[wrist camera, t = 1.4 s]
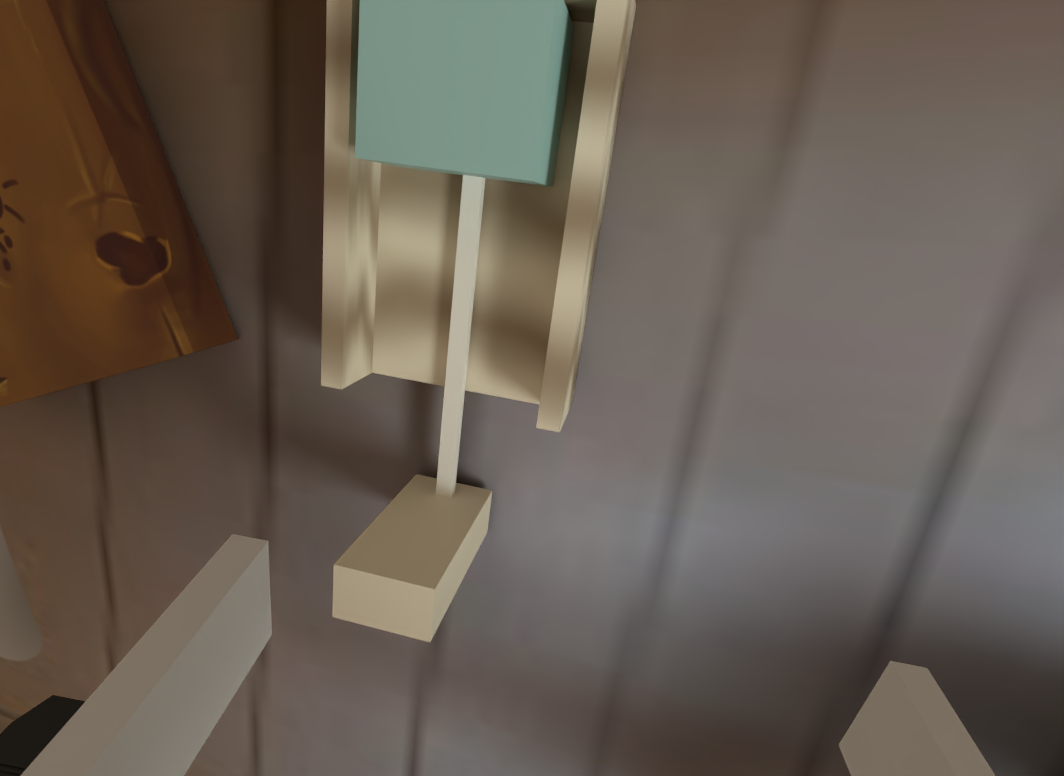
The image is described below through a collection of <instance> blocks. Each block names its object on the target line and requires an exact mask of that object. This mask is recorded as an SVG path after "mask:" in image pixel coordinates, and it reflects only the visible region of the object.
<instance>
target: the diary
mask: <svg viewBox="0 0 1064 776" xmlns="http://www.w3.org/2000/svg"><path fill="white" fill-rule="evenodd" d="M234 340H238V337H237V334H236V332H235V329H234V327H233V324H232V322H231V319H230V316H229V314H228V311H227V309H226V306H225V304H224V301H223V299H222V296H221V294H220V291H219V289H218V286H217V284H216V281H215V279H214V276H213V274H212V271H211V269H210V266H209V264H208V261H207V259H206V256H205V254H204V251H203V249H202V246H201V244H200V241H199V239H198V236H197V234H196V231H195V229H194V226H193V224H192V221H191V219H190V216H189V214H188V211H187V209H186V206H185V204H184V201H183V199H182V196H181V194H180V191H179V189H178V186H177V184H176V181H175V179H174V176H173V174H172V171H171V169H170V166H169V164H168V161H167V159H166V156H165V154H164V151H163V149H162V146H161V144H160V141H159V139H158V136H157V134H156V131H155V129H154V126H153V124H152V121H151V118H150V116H149V113H148V111H147V108H146V106H145V103H144V101H143V98H142V96H141V93H140V91H139V88H138V86H137V83H136V81H135V78H134V76H133V73H132V71H131V68H130V66H129V63H128V61H127V58H126V56H125V53H124V51H123V48H122V46H121V43H120V41H119V38H118V36H117V33H116V31H115V28H114V26H113V23H112V21H111V18H110V16H109V13H108V11H107V8H106V6H105V3H104V1H103V0H0V407H1V406H5V405H9V404H12V403H16V402H19V401H23V400H26V399H30V398H34V397H37V396H41V395H44V394H48V393H52V392H55V391H59V390H62V389H66V388H69V387H73V386H77V385H80V384H84V383H87V382H91V381H94V380H98V379H102V378H105V377H109V376H112V375H116V374H119V373H123V372H127V371H130V370H134V369H137V368H141V367H145V366H148V365H152V364H155V363H159V362H162V361H166V360H170V359H173V358H177V357H180V356H183V355H187V354H190V353H194V352H197V351H201V350H204V349H207V348H211V347H214V346H217V345H221V344H224V343H228V342H231V341H234Z"/></svg>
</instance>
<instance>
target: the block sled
mask: <svg viewBox="0 0 1064 776" xmlns="http://www.w3.org/2000/svg"><path fill="white" fill-rule="evenodd" d="M573 34H574V24H573V22H572V19H571V17H570V14H569V12H568V9H567V7H566V4H565V2H564V0H360V9H359V42H358V75H357V108H356V141H355V158H358V159H363V160H368V161H373V162H378V163H383V164H388V165H393V166H398V167H404V168H411V169H419V170H427V171H434V172H442V173H449V174H457V175H463V181H462V192H461V204H460V216H459V227H458V239H457V251H456V262H455V274H454V286H453V297H452V309H451V321H450V332H449V344H448V356H447V367H446V379H445V390H444V402H443V414H442V425H441V437H440V449H439V460H438V472H437V478H432V477H427V476H423V475H418V474H416V475H415V476H414V477H413V478H412V479H411V480H410V482H409V483H408V484H407V485H406V486H405V487H404V488H403V489H402V490H401V491H400V492H399V494H398V495H397V496H396V497H395V498H394V499H393V500H392V501H391V502H390V503H389V505H388V506H387V507H386V508H385V509H384V510H383V511H382V512H381V513H380V514H379V515H378V517H377V518H376V519H375V520H374V521H373V522H372V523H371V524H370V525H369V526H368V528H367V529H366V530H365V531H364V532H363V533H362V534H361V535H360V536H359V537H358V538H357V540H356V541H355V542H354V543H353V544H352V545H351V546H350V547H349V548H348V549H347V550H346V552H345V553H344V554H343V555H342V556H341V557H340V558H339V559H338V560H337V561H336V563H335V564H334V574H333V615H332V617H335V618H338V619H342V620H346V621H350V622H354V623H357V624H361V625H365V626H369V627H373V628H377V629H380V630H384V631H388V632H392V633H396V634H400V635H403V636H407V637H411V638H415V639H419V640H423V641H426V642H431V640H432V638H433V636H434V634H435V632H436V630H437V628H438V626H439V624H440V622H441V621H442V619H443V617H444V615H445V613H446V611H447V609H448V607H449V605H450V603H451V601H452V599H453V597H454V596H455V594H456V592H457V590H458V588H459V586H460V584H461V582H462V580H463V578H464V576H465V574H466V572H467V570H468V569H469V567H470V565H471V563H472V561H473V559H474V557H475V555H476V553H477V551H478V549H479V547H480V545H481V543H482V542H483V540H484V538H485V536H486V534H487V531H488V522H489V514H490V506H491V497H492V490H488V489H483V488H478V487H474V486H469V485H465V484H460V483H456V476H457V466H458V455H459V445H460V435H461V425H462V414H463V404H464V394H465V384H466V373H467V363H468V353H469V343H470V332H471V322H472V312H473V302H474V291H475V281H476V271H477V261H478V250H479V240H480V230H481V220H482V209H483V199H484V189H485V179H486V178H487V179H495V180H503V181H510V182H518V183H525V184H533V185H541V186H548V187H553V185H554V177H555V170H556V162H557V155H558V147H559V140H560V132H561V124H562V117H563V109H564V102H565V94H566V87H567V79H568V72H569V64H570V57H571V49H572V42H573Z"/></svg>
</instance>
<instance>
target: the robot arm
mask: <svg viewBox="0 0 1064 776" xmlns="http://www.w3.org/2000/svg"><path fill="white" fill-rule="evenodd" d="M271 636H272V625H271V599H270V573H269V547H268V541H266V540H261V539H256V538H251V537H245V536H240V535H235V534H232V535H231V536H230V537H229V539H228V540H227V541H226V542H225V543H224V544H223V545H222V546H221V548H220V549H219V550H218V551H217V552H216V553H215V554H214V556H213V557H212V558H211V559H210V560H209V561H208V562H207V564H206V565H205V566H204V567H203V568H202V569H201V570H200V572H199V573H198V574H197V575H196V576H195V577H194V578H193V580H192V581H191V582H190V583H189V584H188V585H187V586H186V588H185V589H184V590H183V591H182V592H181V593H180V594H179V595H178V597H177V598H176V599H175V600H174V601H173V602H172V603H171V605H170V606H169V607H168V608H167V609H166V610H165V611H164V613H163V614H162V615H161V616H160V617H159V618H158V619H157V621H156V622H155V623H154V624H153V625H152V626H151V627H150V629H149V630H148V631H147V632H146V633H145V634H144V635H143V637H142V638H141V639H140V640H139V641H138V642H137V643H136V644H135V646H134V647H133V648H132V649H131V650H130V651H129V652H128V654H127V655H126V656H125V657H124V658H123V659H122V660H121V662H120V663H119V664H118V665H117V666H116V667H115V668H114V670H113V671H112V672H111V673H110V674H109V675H108V676H107V678H106V679H105V680H104V681H103V682H102V683H101V684H100V686H99V687H98V688H97V689H96V690H95V691H94V692H93V693H92V695H91V696H90V697H89V698H88V699H87V700H86V701H80V700H75V699H70V698H65V697H60V696H55V695H53V696H51V697H50V698H48V699H46V700H45V701H43V702H42V703H40V704H39V705H37V706H36V707H34V708H33V709H31V710H30V711H28V712H27V713H25V714H24V715H22V716H21V717H19V718H18V719H16V720H15V721H13V722H12V723H11V724H10V725H9V726H8V727H7V728H6V729H5V730H4V731H3V732H2V733H1V734H0V776H184V775H185V773H186V772H187V770H188V769H189V767H190V765H191V764H192V762H193V760H194V759H195V757H196V756H197V754H198V752H199V751H200V749H201V748H202V746H203V744H204V743H205V741H206V740H207V738H208V736H209V735H210V733H211V732H212V730H213V728H214V727H215V725H216V724H217V722H218V720H219V719H220V717H221V716H222V714H223V712H224V711H225V709H226V708H227V706H228V704H229V703H230V701H231V700H232V698H233V696H234V695H235V693H236V692H237V690H238V688H239V687H240V685H241V684H242V682H243V680H244V679H245V677H246V676H247V674H248V672H249V671H250V669H251V668H252V666H253V664H254V663H255V661H256V660H257V658H258V656H259V655H260V653H261V652H262V650H263V648H264V647H265V645H266V644H267V642H268V640H269V639H270V637H271ZM839 748H840V750H841V753H842V755H843V757H844V760H845V762H846V765H847V767H848V770H849V772H850V775H851V776H995V774H994V773H993V771H992V770H991V768H990V766H989V765H988V763H987V762H986V760H985V758H984V757H983V755H982V754H981V752H980V751H979V749H978V747H977V746H976V744H975V743H974V741H973V740H972V738H971V736H970V735H969V733H968V732H967V730H966V728H965V727H964V725H963V724H962V722H961V721H960V719H959V717H958V716H957V714H956V713H955V711H954V709H953V708H952V706H951V705H950V703H949V702H948V700H947V698H946V697H945V695H944V694H943V692H942V690H941V689H940V687H939V686H938V684H937V683H936V681H935V679H934V678H933V676H932V675H931V673H930V672H929V670H928V668H925V667H920V666H915V665H910V664H905V663H899V662H894V661H890V662H889V664H888V665H887V667H886V669H885V670H884V672H883V674H882V675H881V677H880V678H879V680H878V682H877V683H876V685H875V687H874V688H873V690H872V691H871V693H870V695H869V696H868V698H867V700H866V701H865V703H864V704H863V706H862V708H861V709H860V711H859V712H858V714H857V716H856V717H855V719H854V721H853V722H852V724H851V725H850V727H849V729H848V730H847V732H846V734H845V735H844V737H843V738H842V740H841V742H840V743H839Z"/></svg>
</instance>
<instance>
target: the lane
mask: <svg viewBox="0 0 1064 776" xmlns="http://www.w3.org/2000/svg"><path fill="white" fill-rule="evenodd" d="M564 2H565V4H566V7H567V9H568V12H569V14H570V17H571V19H572V22H573V24H574V34H573V42H572V49H571V57H570V64H569V72H568V79H567V87H566V94H565V102H564V109H563V117H562V124H561V132H560V140H559V147H558V155H557V162H556V170H555V177H554V185H553V187H548V186H541V185H533V184H525V183H518V182H510V181H503V180H495V179H487V178H486V179H485V189H484V199H483V209H482V220H481V230H480V240H479V250H478V261H477V271H476V281H475V291H474V302H473V312H472V322H471V332H470V343H469V353H468V363H467V373H466V384H465V390H466V391H472V392H477V393H482V394H487V395H493V396H498V397H503V398H508V399H514V400H519V401H524V402H530V403H535V404H540V405H539V412H538V419H537V426H536V428H541V429H546V430H551V431H556V432H560V430H561V428H562V426H563V423H564V421H565V419H566V416H567V414H568V411H569V409H570V407H571V404H572V402H573V396H574V390H575V384H576V377H577V371H578V365H579V359H580V352H581V346H582V340H583V334H584V328H585V321H586V315H587V309H588V303H589V296H590V290H591V284H592V278H593V271H594V265H595V259H596V253H597V247H598V240H599V234H600V228H601V222H602V215H603V209H604V203H605V197H606V190H607V184H608V178H609V172H610V166H611V159H612V153H613V147H614V141H615V134H616V128H617V122H618V116H619V109H620V103H621V97H622V91H623V85H624V78H625V72H626V66H627V60H628V53H629V47H630V41H631V35H632V28H633V22H634V16H635V10H636V2H635V0H564ZM359 9H360V0H327V19H326V86H325V154H324V221H323V289H322V356H321V385H322V386H327V387H332V388H337V389H344V388H345V387H347V386H349V385H351V384H353V383H354V382H356V381H358V380H360V379H362V378H363V377H365V376H367V375H369V374H370V373H377V374H382V375H387V376H393V377H398V378H403V379H408V380H414V381H419V382H424V383H430V384H435V385H440V386H445V379H446V367H447V356H448V344H449V332H450V321H451V309H452V297H453V286H454V274H455V262H456V251H457V239H458V227H459V216H460V204H461V192H462V181H463V175H457V174H449V173H442V172H434V171H427V170H419V169H411V168H404V167H398V166H393V165H388V164H383V163H378V162H373V161H368V160H363V159H358V158H355V141H356V108H357V75H358V42H359Z"/></svg>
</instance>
